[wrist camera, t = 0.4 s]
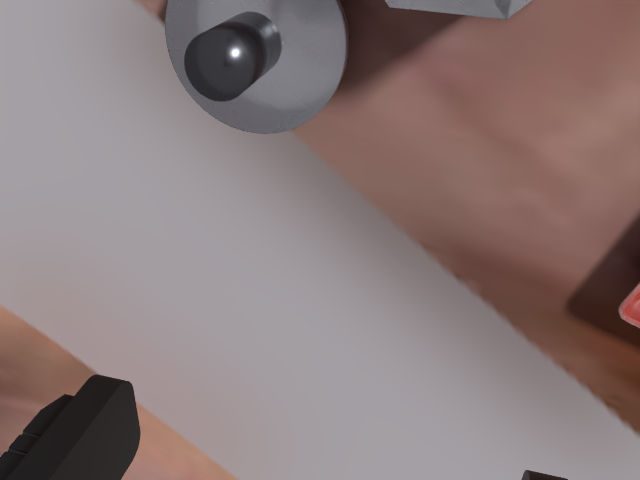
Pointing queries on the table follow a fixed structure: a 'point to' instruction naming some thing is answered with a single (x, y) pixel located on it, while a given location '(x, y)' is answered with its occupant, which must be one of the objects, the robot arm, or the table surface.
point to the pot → (464, 6)
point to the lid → (259, 58)
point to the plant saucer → (631, 307)
